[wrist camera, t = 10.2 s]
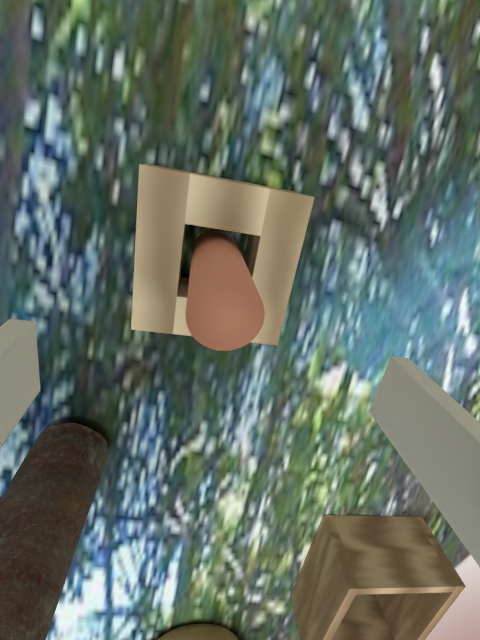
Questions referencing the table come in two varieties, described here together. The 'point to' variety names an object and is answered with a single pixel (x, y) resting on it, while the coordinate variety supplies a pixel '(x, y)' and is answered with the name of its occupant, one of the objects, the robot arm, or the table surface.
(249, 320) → the peg
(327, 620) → the frame
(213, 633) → the potted plant
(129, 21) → the table surface
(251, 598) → the table surface
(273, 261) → the socket block
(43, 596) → the brown log
